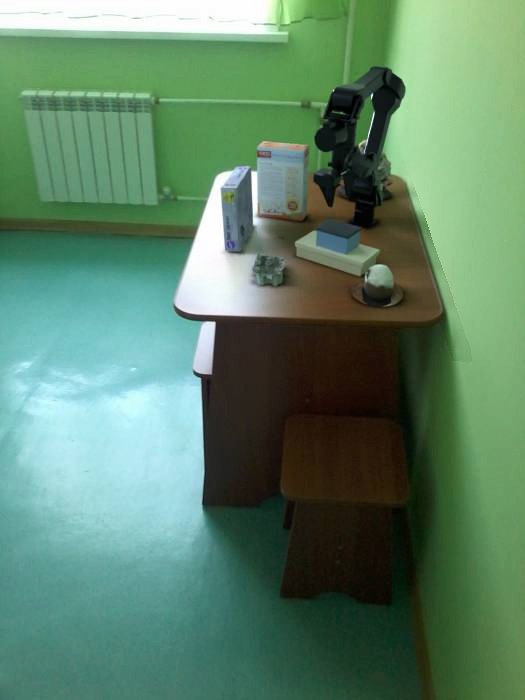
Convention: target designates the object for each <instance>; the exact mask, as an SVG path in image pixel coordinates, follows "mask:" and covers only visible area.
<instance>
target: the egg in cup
mask: <svg viewBox="0 0 525 700" xmlns="http://www.w3.org/2000/svg"><path fill="white" fill-rule="evenodd" d="M351 294H352V296H353V297H354V299H356V300H357V301H358V302H360V303H362V304H365V305H367V306H370V307H377V308H381V307H390V306H394V305H396V304H398V303H400V301H402V299H403V296H404V291H403V290H402V288H401V287H400V285H398V284H396V283H395V280H394V275H393V273H392V271H391V269H390V267H388V265H386V264H380V263H378V264H376V265H374V266H372V267H370V268H369V269H368V271H367V272H365V273H364V278H363V279H361V280H359V281H357V282H355V283H354V284H353V285H352V287H351Z"/></svg>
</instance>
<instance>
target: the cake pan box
mask: <svg viewBox="0 0 525 700" xmlns="http://www.w3.org/2000/svg"><path fill="white" fill-rule="evenodd" d="M252 177H253V176H252V166H247V165H246V166H235V168H234V169H233V170H232V172H231V173H230V175H229V176H228V177H227V178H226V180H225V182H224V183H223V184H222V186H221V187H220V199H221V200H220V201H221V214H222V227H223V228H222V229H223V242H224V251H225V252H233V253H241V252H242V249H243V247H244V246H245V244H246V243H247V241H248V239H249V237H250V235H251V232H252V230H253V228H254V208H253V205H254V203H253V187H252V186H253V183H252Z"/></svg>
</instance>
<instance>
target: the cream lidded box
mask: <svg viewBox="0 0 525 700" xmlns="http://www.w3.org/2000/svg"><path fill="white" fill-rule="evenodd" d="M316 235H317V230H312V231H310V232H309V233H307V234H306V235H304V236H302V237H301V238H299V239H297V240H296V241H294V247H296V254H295V255H296V257H298V258H302V259H305V260H307V261H310V262H314V263H317V264H319V265H324V266H326V267H329V268H333V269H336V270H339V271H342V272H345V273H348V274H351V275H354V276H357V277H362V276H363V275H365V273H366V272H368V269H369V268H370V267H372V266H374V265H377V257H378V256H380V254H381V249H378V248H375V247H371V246H368V245H366V244H361V243H359V246H358V247H356V248H355V249H354V250H352V251H351V252H349V253H348V254H347V255H345V254H342V253H339V252H336V251H332V250H329V249H326V248H323V247H319V246H316Z"/></svg>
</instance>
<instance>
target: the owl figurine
mask: <svg viewBox="0 0 525 700" xmlns="http://www.w3.org/2000/svg"><path fill="white" fill-rule="evenodd" d="M366 143H367V139H364V140H362V141H361V142H359V144H358V147H359V153H361V154H364V151H365V147H366ZM391 170H392V162H391V161H390V160H389V159H388V157H387V154H386V153H385V152H383V151H382V155H381V159H380V163H379V166H378V173H379V176H380V180H381V182H380V188H381V190H382V193H383V195H384V197H383V201H385V200H388V199H389V198H390V197H391V191H390V190H389V189H388V188H387V187H389V186H391V185H393V180H392V179H388V178H389V177H390V176H391V172H392V171H391ZM341 181H343V174H342V175H341ZM336 192H337V194H338V196H340V197H341V198H343V199H347V200H349V197H347V196H346V192H345V187H344V183H343V184H341V185H340V186H339V187H338V188H336Z"/></svg>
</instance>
